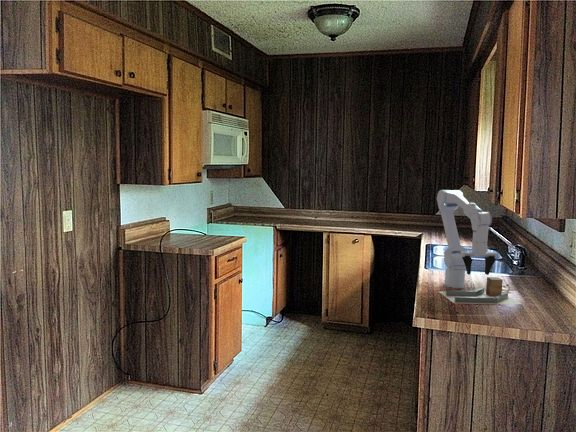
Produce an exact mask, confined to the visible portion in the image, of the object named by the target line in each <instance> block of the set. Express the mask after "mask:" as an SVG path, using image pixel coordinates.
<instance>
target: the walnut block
mask: <svg viewBox="0 0 576 432" xmlns="http://www.w3.org/2000/svg"><path fill="white" fill-rule="evenodd" d="M503 281H504V280H503V279H502V278H500V277H497V276H487V277H486V284H485V285H486V287H485V292H486V294H488V295H489V296H498V295H500V294H502V293H503V291H502V290H503Z"/></svg>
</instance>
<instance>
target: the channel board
mask: <svg viewBox="0 0 576 432" xmlns="http://www.w3.org/2000/svg"><path fill="white" fill-rule="evenodd" d="M438 293H440V294H441V295H442V296H443V297H445V298H446V299H448V300H449V302H452V303H453V304H467V305H468V304H469V305H471V304H472V305H474V304H475V305H476V304H477V305H518V306H519V307H520V306H521V307H522V306H523V303H521V302H519V301H518V300H517V299H514V298H512V297H510V296H509V295H508V298H506V299H504V300H502V301H500V302H498V303H456V302H455V297H496V296H489V295H488V294H486V291H484V293H482V294H480V295H478V296H446V290H445V291H443V290H441V291H438Z"/></svg>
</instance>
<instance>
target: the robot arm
mask: <svg viewBox="0 0 576 432" xmlns="http://www.w3.org/2000/svg"><path fill="white" fill-rule="evenodd" d="M436 201H437V203H436V204H437V207H438V210H439V211H440V215H441V220H442V224H443V227H444V228H443V229H444V232H445V237H446V241H447V245H448V247H447V248H446V249H445V250H444V252H443V254H444V256H443V257H444V260H443V261H444V265H445V266H446V269H445V272H444V283H442V285H443V286H444V287H448V288H454V289H463V288H465V281H466V280H465V279H466V274H467V275H471V272H472V262H473V261H474V259H473V257H474V258H475V257H476V258H477V257H478V258H484V263H485V265H484V275H487V276H489V275H490V272H491V269H492V267H493V265H494V263H495V262H496V260H497V259H496V258H498V254H499V253H498V252H497V251H488V237H489V227H490V226H491V225H492V223H493V215H492V214H491V213H490V211H483V209H482V208H480V207H479V206H478V205H477V204H476V203H475V202H469V201H468V200H467V198H466V197H464V192H462V190H460V189H453V190H451V189H440V190H439V191H438V192H437V196H436ZM459 207H460V208H461V209H463V210H462V211H463V214H464V215H465V216H466V217H467V218H469V219H470V222H471V230H472V243H471V250H470V251H469V250H467V248H466V247H464V246H463V245H462V244H461V240H460V237H459V232H458V227H457V224H456V218H455V215H454V212H455V211H456V210H458V208H459Z"/></svg>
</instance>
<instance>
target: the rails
mask: <svg viewBox="0 0 576 432" xmlns="http://www.w3.org/2000/svg"><path fill="white" fill-rule="evenodd" d="M445 291H446V296H478V295H480V294H482V293H484V292H485V287H479V288H477V289H475V290H456V289H455V290H445ZM508 296H509V292H508V291H504V292H502V294H500V295H498V296H496V297H455V302H456V303H498V302H500V301H502V300H504V299H506V298H508ZM456 303H455V304H456Z"/></svg>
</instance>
